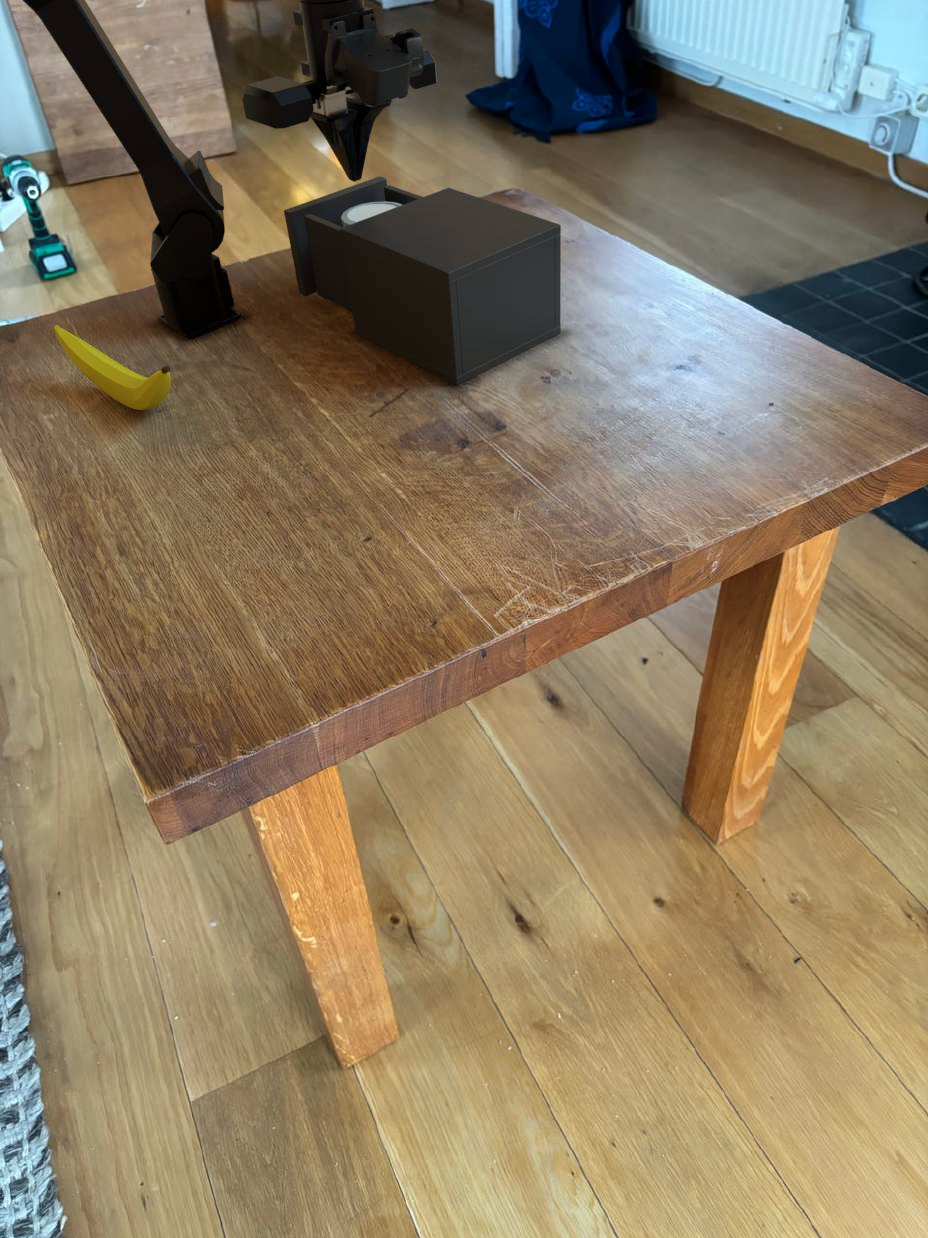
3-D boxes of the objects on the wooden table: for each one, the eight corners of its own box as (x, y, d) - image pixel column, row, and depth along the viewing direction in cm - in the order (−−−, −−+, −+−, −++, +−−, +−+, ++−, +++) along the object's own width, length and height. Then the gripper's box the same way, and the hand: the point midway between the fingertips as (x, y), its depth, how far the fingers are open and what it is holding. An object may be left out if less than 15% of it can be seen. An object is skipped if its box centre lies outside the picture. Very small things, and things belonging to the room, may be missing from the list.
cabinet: (355, 333, 98) (339, 228, 91) (456, 289, 104) (448, 187, 97) (457, 385, 89) (448, 272, 82) (560, 333, 95) (561, 224, 88)
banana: (85, 365, 96) (63, 305, 92) (200, 424, 87) (181, 360, 82) (59, 377, 95) (35, 316, 91) (173, 439, 85) (153, 374, 81)
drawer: (277, 282, 106) (260, 200, 100) (367, 247, 112) (356, 167, 106) (382, 334, 95) (370, 246, 89) (475, 292, 101) (470, 206, 95)
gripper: (292, 29, 77) (324, 227, 87) (469, -14, 85) (478, 172, 96) (222, 13, 83) (259, 199, 94) (392, -26, 92) (409, 149, 102)
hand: (355, 179), depth 96 cm, fingers closed
